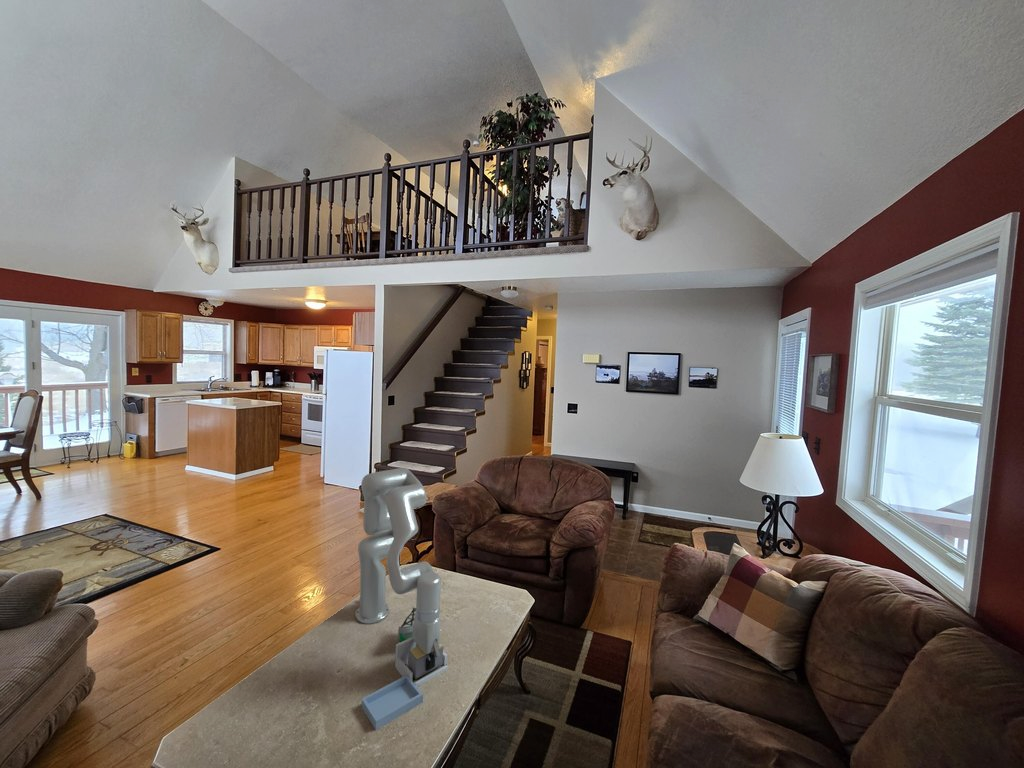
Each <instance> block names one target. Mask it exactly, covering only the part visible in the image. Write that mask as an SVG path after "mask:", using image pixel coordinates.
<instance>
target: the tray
mask: <svg viewBox="0 0 1024 768" xmlns="http://www.w3.org/2000/svg"><path fill="white" fill-rule="evenodd" d="M423 703H424V694H423V692H422V691H421V689H419V686H418V687H417V686H416V685H415V682H413V679H412V680H411V679H410V678H409V676H408V675H406V676H404V677H403V676H402V677H399V679H396V680H395V681H392V682H390V683H389V684H387V685H385V686H383V687H382V688H381V687H380V688H379V689H377V690H375V691H374V692H372V693H370V694H368V695H366V696H364V697H362V698H361V709H362V710H363V712H364V713H365V715H366V717H367V718H368V719H369V722H370V723H371V725H372V726H373V727H374V729H375V731H376V730H378V729H380V728H382V727H384V726H386V725H387V724H389V723H390V722H393V721H394V720H395V719H397V718H399V717H401V716H402V715H404V714H406V713H408V712H409V711H410V710H412V709H414V708H416V707H417V706H419V705H421V704H423Z"/></svg>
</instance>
